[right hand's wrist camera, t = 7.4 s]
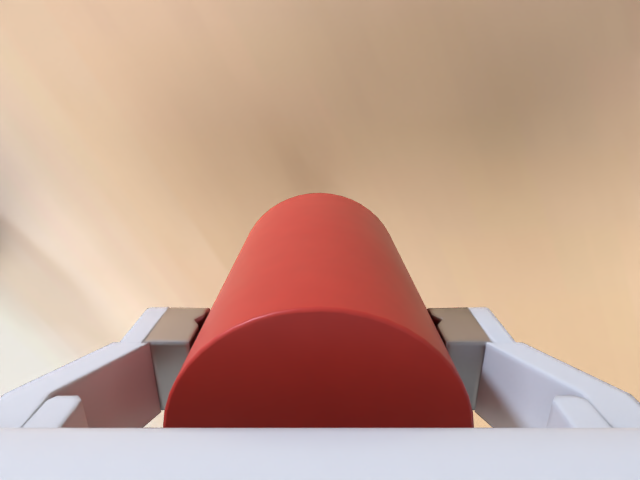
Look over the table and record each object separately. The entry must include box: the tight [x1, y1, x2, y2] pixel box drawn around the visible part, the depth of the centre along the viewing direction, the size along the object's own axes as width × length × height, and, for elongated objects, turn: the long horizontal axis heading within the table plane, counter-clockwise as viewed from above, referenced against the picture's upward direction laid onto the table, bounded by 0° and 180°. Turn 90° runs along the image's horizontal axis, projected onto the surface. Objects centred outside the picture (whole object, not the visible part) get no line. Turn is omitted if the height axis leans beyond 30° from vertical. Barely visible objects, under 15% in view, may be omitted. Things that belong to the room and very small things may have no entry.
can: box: [163, 193, 474, 428], centre depth 11 cm, size 5×5×8 cm
